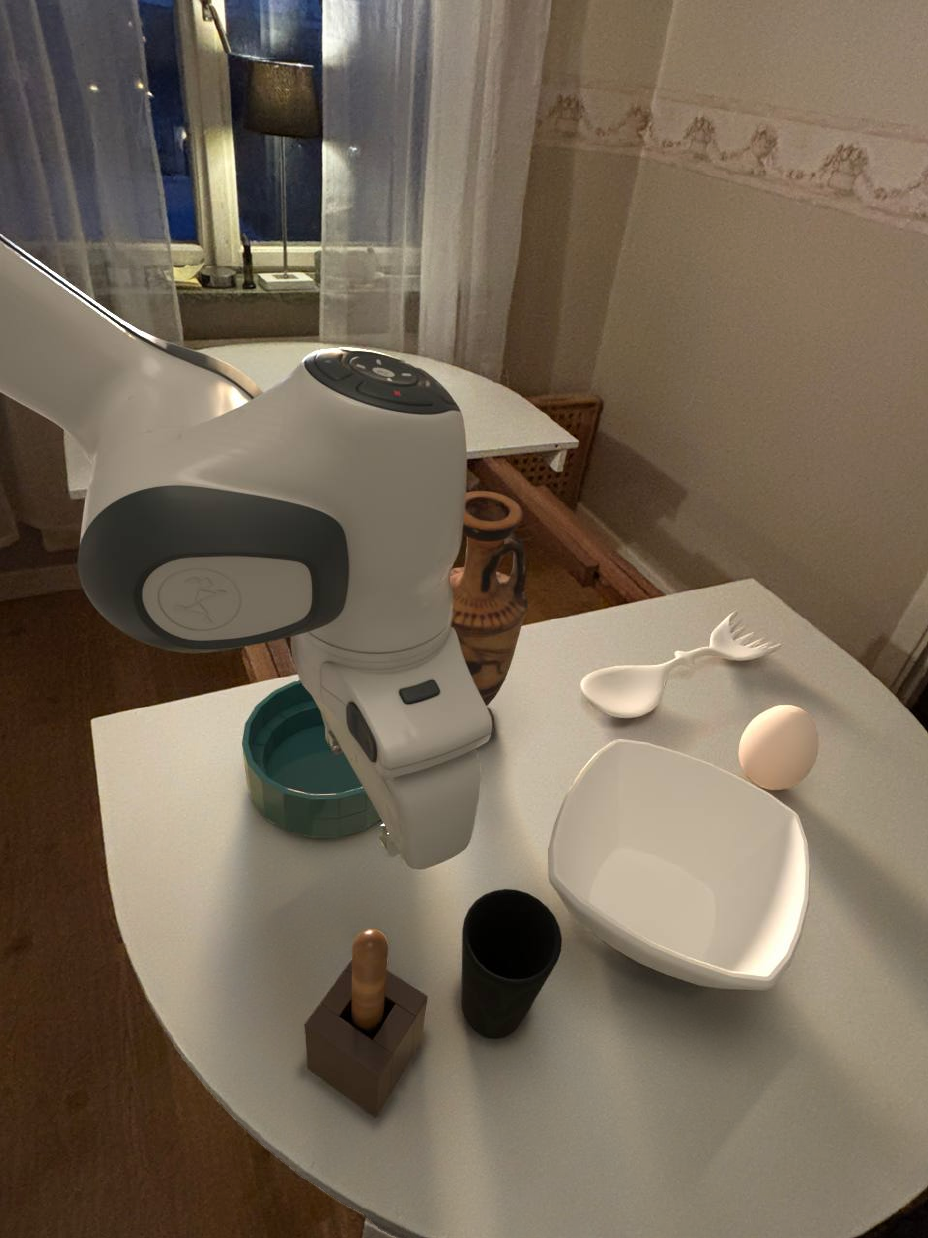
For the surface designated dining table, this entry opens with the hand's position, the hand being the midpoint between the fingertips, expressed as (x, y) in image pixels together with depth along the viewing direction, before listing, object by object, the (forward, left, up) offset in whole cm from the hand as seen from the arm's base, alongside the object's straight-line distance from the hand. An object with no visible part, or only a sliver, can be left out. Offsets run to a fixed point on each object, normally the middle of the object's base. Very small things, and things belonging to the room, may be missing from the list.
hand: (366, 792), depth 51 cm
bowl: (+19, -21, -24) cm, 37 cm away
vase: (+30, +7, -24) cm, 39 cm away
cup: (+3, -12, -24) cm, 27 cm away
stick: (-6, -5, -24) cm, 25 cm away
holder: (-6, -5, -24) cm, 25 cm away
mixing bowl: (+15, +15, -24) cm, 32 cm away
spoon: (+55, -13, -24) cm, 61 cm away
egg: (+43, -27, -24) cm, 56 cm away
